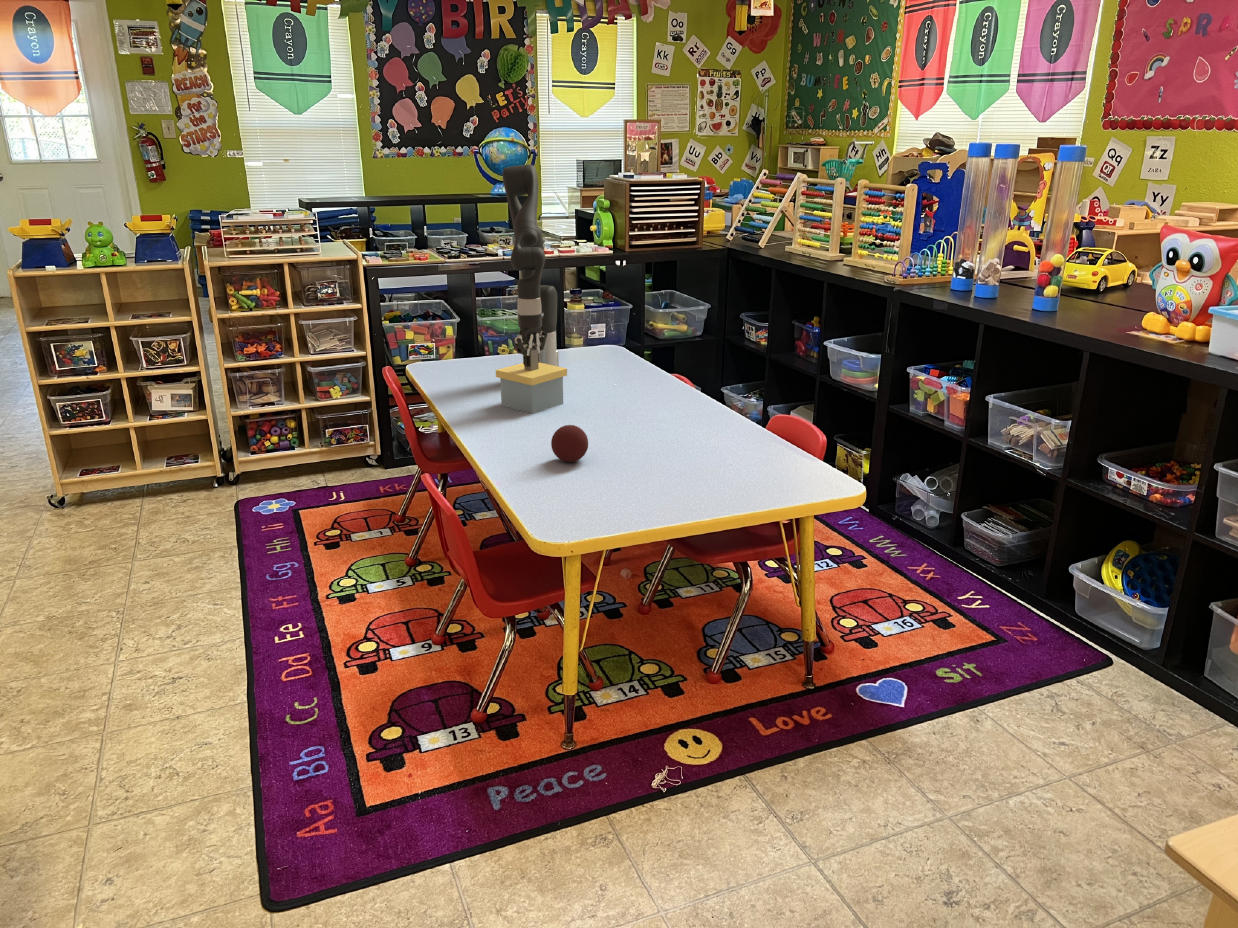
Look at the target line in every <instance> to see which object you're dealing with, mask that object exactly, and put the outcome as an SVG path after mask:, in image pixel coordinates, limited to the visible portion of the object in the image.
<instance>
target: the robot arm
mask: <svg viewBox="0 0 1238 928" xmlns="http://www.w3.org/2000/svg"><path fill="white" fill-rule="evenodd" d="M502 182H503V187H504V191H505V195H506V199H507V203H508V207H509V211H510V216H511V221H512V222H511V223H512V229H513V234H514V235H513V236H514V245H513V248H512V251H511V254H510V265H511V267H512V268H513V269H514V270H516V271H520V272H521V273H520V274H521V278H519V279H518V280H517V326H518V328H519V332H518V335H517V336H513V338H512V341H513V343H514V346H515V349H516V351H517V352H516V353H517V354H520V355H522V360H523V361H522V363H523V364H524V366H526V367H530V349H531V348H534V349H538V364H539V363H544V364H548V365H553V366H558V367H560V366H559V365H560V364H559V362H560V361H559V358H560V357H559V351H558V350H557V322H558V292H557V290H556V287H554V286H553V285H546V284H541V280H542V275H543V270H544V268H545V267H544V266H545V262H546V254H545V246H544V245H545V244H544V239H543V233H542V230H541V228H540V226H539V224H537V223H538V221H537V217H538V216H537V215H538V203H539V176H538V172H537V169H536V167H535V166H534V165H533V164H520V165H513V166H507V167H505V168H503V170H502ZM525 195H527V197H526V199H525V201H524V203H523V205H522V204H521V203H520V201H519V198H518V196H519V197H520V196H525ZM542 313H543V316H542Z"/></svg>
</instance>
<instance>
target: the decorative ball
mask: <svg viewBox="0 0 1238 928" xmlns="http://www.w3.org/2000/svg"><path fill="white" fill-rule="evenodd" d="M550 444H551V445H550V446H551V449H552V452H553V453H554V456H555V457H557V458H558V459H559V460H560V461H563V462H566V463H573V462H577V461H579V460H581V459H582V458H583V457H584V456H585V455H586V453H587V451H588V448H589V439H588V435H587V434H586V432H585V431H584V430H583V429H582V428H581V427H580V426H576V425H573V424H566V425H563V426H560V427H559V428H558V429H556V431H554V433H553V434H552V437H551V440H550Z"/></svg>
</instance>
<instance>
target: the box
mask: <svg viewBox="0 0 1238 928" xmlns="http://www.w3.org/2000/svg"><path fill="white" fill-rule="evenodd" d="M563 378H564V376H563V377H560V378H556V379H553V380H550V381H546V382H543V383H539V384H536V385H528V384H523V383H519V382H515V381H511V380H507V379H502V378H499V379H500V397H501V398H500V399H501V400H500V402H501V406H503V407H507V408H511V409H514V410H518V411H522V412H527V413H530V414H536V413H538V412H541V411H544V410H548V409H552V408H554V407H557V406H561V405H563V404H564V379H563Z"/></svg>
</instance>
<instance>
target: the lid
mask: <svg viewBox="0 0 1238 928" xmlns="http://www.w3.org/2000/svg"><path fill="white" fill-rule="evenodd" d="M567 376H568V368H567V367H561V366H559V367H558V366H553V365H548V364H544V363H539V364H538V349H534V348H531V349H530V367H526V366H524V364H523V362H521V363H518V364H513V365H510V366H506V367H502V368H499V369H495V377H496V378H498V379H500V378H502V379H507V380H511V381H515V382H519V383H523V384H528V385H536V384H539V383H543V382H546V381H550V380H553V379H556V378H560V377H563V378H564V377H567Z"/></svg>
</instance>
